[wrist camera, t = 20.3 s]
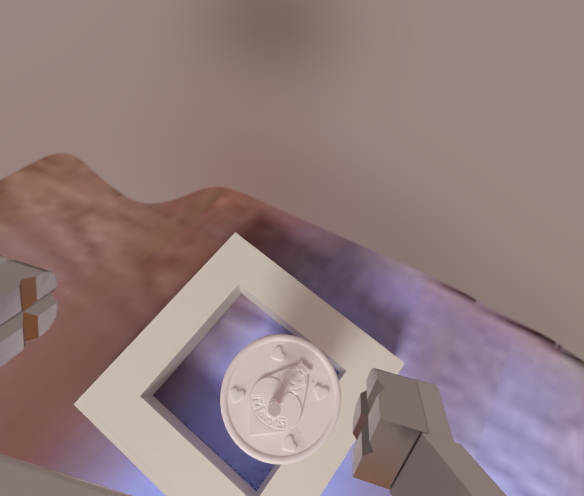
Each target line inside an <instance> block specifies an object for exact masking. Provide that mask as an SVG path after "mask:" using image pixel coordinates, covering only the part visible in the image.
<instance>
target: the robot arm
mask: <svg viewBox="0 0 584 496" xmlns="http://www.w3.org/2000/svg"><path fill="white" fill-rule="evenodd" d="M56 288H57V282H56V275H55V274H53V273H52V272H51V271H48V270H45V269H42V268H39V267H36V266H33V265H29V264H26V263H23V262H20V261H17V260H13V259H10V258H7V257H4V256H0V367H1V366H3V365H4V364H5V363H6V362H8V361H9V360H10V359H12V358H13V357H14V356H15V355H17V354H18V353H19V352H21V351H22V350H23V349H24V346H25V341H28V340H31V339H35V338H38V337H40V336H41V335H42V334H43V333H45V332H46V331H47V330H48V329H49V327H50V326H51V324H52V323H53V321H54V320H55V317H56V313H57V301H56V299H55V298H54V296H53V295H52V292H53V291H54V290H55V289H56ZM366 384H367V390H366V391H364V392H362V393H360V396H359V398H358V401H357V404H356V407H355V412H354V416H353V435H354V436H355V438H356V439H357V441H356V443H355V446H354V448H353V477H355V478H358V479H360V480H363V481H366V482H369V483H372V484H375V485H378V486H381V487H384V488H387V489H390V493H391V495H392V496H506V495H505V493H504V492H503V491H502V490H501V489H500V488H499V487H498V486H497V484H496V483H495V482H494V481H493V480H492V479H491V478H490V477H489V475H488V474H487V473H486V472H485V471H484V470H483V469H482V468H481V466H480V465H479V464H478V463H477V462H476V461H475V460H474V459H473V457H472V456H471V455H470V454H469V453H468V452H467V451H466V450H465V449H464V447H463V446H462V445H461V444H458V443H455V442H454V440H453V437H452V433H451V430H450V427H449V423H448V420H447V417H446V413H445V410H444V407H443V404H442V400H441V397H440V394H439V390H438V388H437V386H436V385H435V384H431V383H428V382H424V381H420V380H417V379H410V378H407V377H404V376H400V375H397V374H393V373H390V372H387V371H383V370H380V369H376V368H372V370H371V371H370V373H369V375H368V377H367V379H366ZM0 496H131V495H128V494H125V493H122V492H119V491H116V490H113V489H110V488H107V487H103V486H100V485H97V484H94V483H91V482H88V481H85V480H82V479H79V478H75V477H72V476H69V475H66V474H63V473H60V472H57V471H54V470H51V469H47V468H44V467H41V466H38V465H35V464H32V463H29V462H26V461H22V460H19V459H16V458H13V457H10V456H7V455H4V454H1V453H0Z"/></svg>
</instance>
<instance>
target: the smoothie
mask: <svg viewBox="0 0 584 496" xmlns="http://www.w3.org/2000/svg"><path fill="white" fill-rule="evenodd" d="M220 406H221V413H222V418H223V421H224V424H225V427H226V429H227V431H228V433H229V435H230V436H231V438H232V439H233V441H234V442H235V443H236V444H237V445H238V446H239V448H240V449H242V450H243V451H244V452H245V453H247V454H248V455H249V456H251V457H253V458H255V459H257V460H259V461H262V462H265V463H270V464H279V465H281V464H290V463H295V462H298V461H301V460H303V459H305V458H307V457H309V456H311V455H312V454H314V453H315V452H316V451H318V450H319V449H320V448H321V447H322V446H323V445H324V444H325V443H326V441H327V440H328V439H329V437H330V436H331V434H332V432H333V431H334V429H335V426H336V424H337V421H338V418H339V414H340V409H341V388H340V383H339V379H338V376H337V373H336V371H335V369H334V367H333V365H332V363H331V362H330V360H329V359H328V357H327V356H326V355H325V354H324V353H323V352H322V351H321V350H320V349H319V348H318V347H317V346H315V345H314V344H313V343H311V342H309V341H307V340H305V339H303V338H301V337H297V336H294V335H288V334H275V335H269V336H265V337H262V338H260V339H257V340H255V341H253V342H252V343H250V344H249V345H247V346H246V347H245V348H243V349H242V350H241V351H240V352H239V353H238V354H237V355H236V357H235V358H234V359H233V361H232V362H231V364H230V365H229V367H228V369H227V371H226V373H225V376H224V379H223V382H222V387H221V394H220Z"/></svg>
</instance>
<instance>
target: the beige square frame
mask: <svg viewBox="0 0 584 496" xmlns="http://www.w3.org/2000/svg"><path fill="white" fill-rule="evenodd" d="M241 294H243V295H244V296H245V297H247V298H248V299H249V300H250V301H252V302H253V303H254V304H255V305H257V306H258V307H259V308H260V309H262V310H263V311H264V312H265V313H266V314H268V315H269V316H270V317H271V318H273V319H274V320H275V321H276V322H278V323H279V324H280V325H281V326H283V327H284V328H285V329H286V330H288V331H289V332H290V333H291V334H292V335H294V336H297V337H301V338H303V339H305V340H307V341H309V342H311V343H313V344H314V345H315V346H317V347H318V348H319V349H320V350H321V351H322V352H323V353H324V354H325V355H326V356H327V357H328V359H329V360H330V362H331V363H332V365H333V367H334V368H335V369H336V370H337V371H338V372H339V373H338V375H337V376H338V379H339V383H340V388H341V409H340V414H339V418H338V421H337V424H336V426H335V429H334V431H333V432H332V434H331V436H330V437H329V439H328V440H327V441H326V443H325V444H324V445H323V446H322V447H321V448H320V449H319V450H318V451H316V452H315V453H314V454H312V455H311V456H309V457H307V458H305V459H303V460H301V461H298V462H295V463H290V464H281V465H279V464H275V465H274V466H273V468H272V469H271V471H270V472H269V474H268V475H267V476H266V478H265V479H264V481H263V482H262V484H261V485H260V486H259V488H258V489H257V491H256V490H254V489H253V488H252V487H251V486H250V485H249V484H248V483H247V482H246V481H245V480H244V479H243V478H242V477H240V476H239V475H238V474H237V473H236V472H235V471H234V470H233V469H232V468H231V467H230V466H229V465H228V464H226V463H225V462H224V461H223V460H222V459H221V458H220V457H219V456H218V455H217V454H216V453H215V452H213V451H212V450H211V449H210V448H209V447H208V446H207V445H206V444H205V443H204V442H203V441H202V440H201V439H199V438H198V437H197V436H196V435H195V434H194V433H193V432H192V431H191V430H190V429H189V428H188V427H186V426H185V425H184V424H183V423H182V422H181V421H180V420H179V419H178V418H177V417H176V416H175V415H174V414H172V413H171V412H170V411H169V410H168V409H167V408H166V407H165V406H164V405H163V404H162V403H161V402H160V401H158V400H157V399H156V398H155V397H154V396H153V395H154V394H155V393H156V392H157V391H158V389H159V388H160V387H161V386H162V385H163V384H164V383H165V381H166V380H167V379H168V378H169V377H170V376H171V374H172V373H173V372H174V371H175V370H176V369H177V368H178V366H179V365H180V364H181V363H182V362H183V361H184V359H185V358H186V357H187V356H188V355H189V354H190V353H191V351H192V350H193V349H194V348H195V347H196V346H197V345H198V343H199V342H200V341H201V340H202V339H203V338H204V336H205V335H206V334H207V333H208V332H209V331H210V330H211V328H212V327H213V326H214V325H215V324H216V323H217V321H218V320H219V319H220V318H221V317H222V316H223V315H224V313H225V312H226V311H227V310H228V309H229V308H230V306H231V305H232V304H233V303H234V302H235V301H236V300H237V298H238V297H239V296H240V295H241ZM403 365H404V362H403V361H401V360H400V359H399V358H397V357H396V356H395V355H393V354H392V353H391V352H390V351H388V350H387V349H386V348H384V347H383V346H382V345H381V344H379V343H378V342H377V341H375V340H374V339H373V338H371V337H370V336H369V335H368V334H366V333H365V332H364V331H362V330H361V329H360V328H359V327H357V326H356V325H355V324H353V323H352V322H351V321H349V320H348V319H347V318H346V317H344V316H343V315H342V314H340V313H339V312H338V311H337V310H335V309H334V308H333V307H331V306H330V305H329V304H327V303H326V302H325V301H324V300H322V299H321V298H320V297H318V296H317V295H316V294H314V293H313V292H312V291H311V290H309V289H308V288H307V287H305V286H304V285H303V284H302V283H300V282H299V281H298V280H296V279H295V278H294V277H292V276H291V275H290V274H289V273H287V272H286V271H285V270H283V269H282V268H281V267H280V266H278V265H277V264H276V263H274V262H273V261H272V260H270V259H269V258H268V257H267V256H265V255H264V254H263V253H261V252H260V251H259V250H258V249H256V248H255V247H254V246H252V245H251V244H250V243H248V242H247V241H246V240H245V239H243V238H242V237H241V236H239V235H238V234H237V233H236V232H235V233H234V234H233V235H232V236H231V237H230V238H229V240H228V241H227V242H226V243H225V244H224V245H223V246H222V247H221V248H220V249H219V250H218V251H217V252H216V253H215V254H214V255H213V257H212V258H211V259H210V260H209V261H208V262H207V263H206V264H205V265H204V266H203V267H202V268H201V269H200V270H199V271H198V273H197V274H196V275H195V276H194V277H193V278H192V279H191V280H190V281H189V282H188V283H187V284H186V285H185V286H184V287H183V289H182V290H181V291H180V292H179V293H178V294H177V295H176V296H175V297H174V298H173V299H172V300H171V301H170V302H169V303H168V304H167V306H166V307H165V308H164V309H163V310H162V311H161V312H160V313H159V314H158V315H157V316H156V317H155V318H154V319H153V320H152V322H151V323H150V324H149V325H148V326H147V327H146V328H145V329H144V330H143V331H142V332H141V333H140V334H139V335H138V336H137V338H136V339H135V340H134V341H133V342H132V343H131V344H130V345H129V346H128V347H127V348H126V349H125V350H124V351H123V352H122V353H121V355H120V356H119V357H118V358H117V359H116V360H115V361H114V362H113V363H112V364H111V365H110V366H109V367H108V368H107V369H106V371H105V372H104V373H103V374H102V375H101V376H100V377H99V378H98V379H97V380H96V381H95V382H94V383H93V384H92V385H91V386H90V388H89V389H88V390H87V391H86V392H85V393H84V394H83V395H82V396H81V397H80V398H79V399H78V400H77V401H76V402H75V404H74V405H75V406H76V407H77V408H78V409H79V410H80V411H81V412H82V413H83V414H84V415H85V416H86V417H87V418H88V419H89V420H90V421H91V422H92V423H93V424H94V425H95V426H96V427H97V428H98V429H99V430H100V431H101V432H102V433H103V434H104V435H105V436H106V437H107V438H108V439H109V440H110V441H111V442H112V443H113V444H114V445H115V446H116V447H117V448H118V449H119V450H120V451H121V452H123V453H124V454H125V455H126V456H127V457H128V458H129V459H130V460H131V461H132V462H133V463H134V464H135V465H136V466H137V467H138V468H139V469H140V470H141V471H142V472H143V473H144V474H145V475H146V476H147V477H148V478H149V479H150V480H151V481H152V482H153V483H154V484H155V485H156V486H157V487H158V488H159V489H160V490H161V491H162V492H163V493H164V494H165V495H166V496H320V495H321V493H322V492H323V490H324V489H325V487H326V486H327V484H328V482H329V481H330V479H331V478H332V476H333V475H334V473H335V471H336V470H337V468H338V467H339V465H340V464H341V462H342V460H343V459H344V457H345V456H346V454H347V453H348V451H349V450H350V448H351V446H352V445H353V443H354V442H355V440H356V438H355V436H354V435H353V416H354V412H355V407H356V404H357V401H358V398H359V396H360V393H362V392H364V391H366V390H367V384H366V379H367V377H368V375H369V373H370V371H371V370H372V368H376V369H380V370H383V371H387V372H390V373H393V374H398V373H399V371H400V370H401V368H402V366H403Z"/></svg>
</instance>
